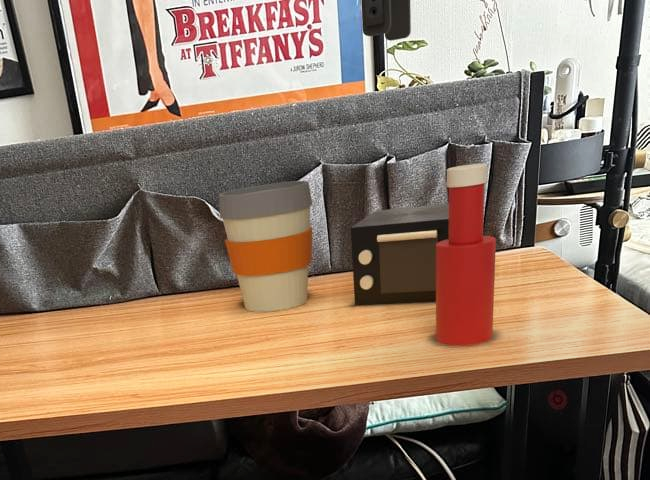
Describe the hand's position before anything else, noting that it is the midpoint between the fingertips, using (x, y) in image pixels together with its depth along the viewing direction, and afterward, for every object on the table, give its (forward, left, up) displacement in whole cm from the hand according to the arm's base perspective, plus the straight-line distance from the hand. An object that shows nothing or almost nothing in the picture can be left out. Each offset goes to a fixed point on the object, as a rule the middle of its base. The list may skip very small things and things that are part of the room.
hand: (388, 37), depth 62 cm
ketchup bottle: (-6, -3, -27) cm, 28 cm away
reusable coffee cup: (+22, -25, -28) cm, 43 cm away
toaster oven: (+3, -26, -27) cm, 38 cm away
